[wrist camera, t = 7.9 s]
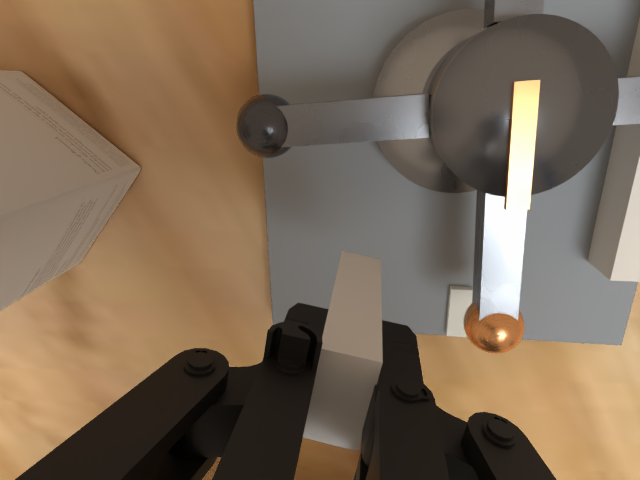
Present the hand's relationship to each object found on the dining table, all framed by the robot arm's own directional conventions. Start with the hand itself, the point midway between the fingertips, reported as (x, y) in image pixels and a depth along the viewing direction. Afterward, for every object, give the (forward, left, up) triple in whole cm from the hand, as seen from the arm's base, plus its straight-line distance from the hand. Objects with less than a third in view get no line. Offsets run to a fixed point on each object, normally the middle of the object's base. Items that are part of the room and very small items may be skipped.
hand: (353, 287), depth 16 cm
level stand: (+5, -5, -9) cm, 12 cm away
